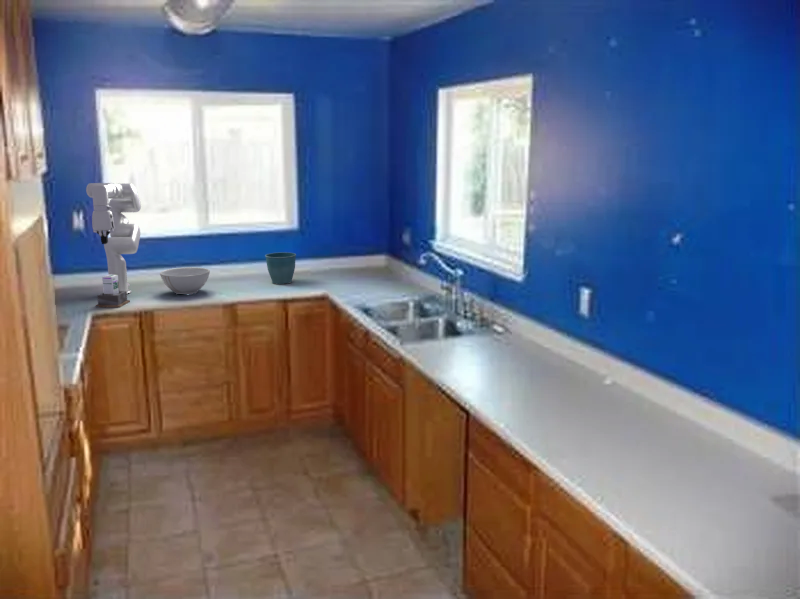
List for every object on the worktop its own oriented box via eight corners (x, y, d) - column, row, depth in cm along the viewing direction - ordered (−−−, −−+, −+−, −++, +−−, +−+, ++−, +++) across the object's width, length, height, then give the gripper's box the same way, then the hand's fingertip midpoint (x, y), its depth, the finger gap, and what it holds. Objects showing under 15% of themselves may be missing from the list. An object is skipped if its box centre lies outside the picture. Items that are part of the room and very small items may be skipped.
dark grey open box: (107, 301, 384) (105, 290, 382) (130, 301, 383) (129, 290, 382) (95, 307, 372) (94, 295, 370) (119, 307, 371) (118, 296, 369)
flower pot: (272, 286, 422) (271, 258, 418) (262, 281, 437) (261, 253, 433) (301, 283, 430) (300, 255, 426) (290, 278, 446) (289, 251, 442)
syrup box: (114, 304, 374) (112, 276, 371) (104, 303, 375) (101, 276, 372) (120, 301, 379) (118, 274, 376) (110, 301, 380) (108, 274, 377)
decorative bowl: (154, 297, 393) (152, 276, 390) (170, 287, 419) (169, 267, 416) (202, 298, 392) (201, 276, 389) (216, 287, 418) (215, 267, 416)
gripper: (118, 208, 376) (121, 242, 381) (91, 207, 377) (94, 242, 382) (112, 209, 369) (115, 244, 373) (83, 209, 370) (87, 244, 374)
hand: (104, 243), depth 377 cm, fingers closed
